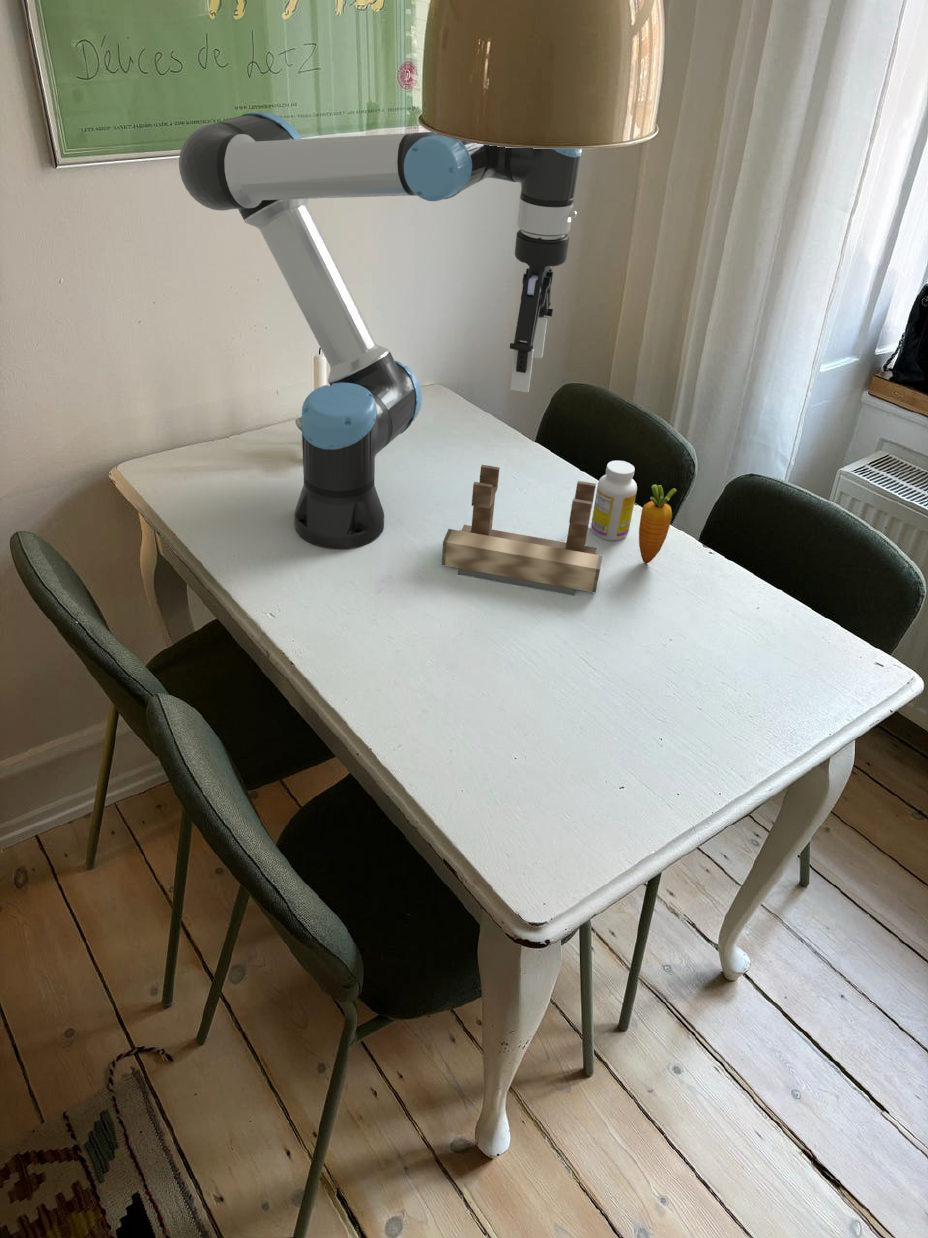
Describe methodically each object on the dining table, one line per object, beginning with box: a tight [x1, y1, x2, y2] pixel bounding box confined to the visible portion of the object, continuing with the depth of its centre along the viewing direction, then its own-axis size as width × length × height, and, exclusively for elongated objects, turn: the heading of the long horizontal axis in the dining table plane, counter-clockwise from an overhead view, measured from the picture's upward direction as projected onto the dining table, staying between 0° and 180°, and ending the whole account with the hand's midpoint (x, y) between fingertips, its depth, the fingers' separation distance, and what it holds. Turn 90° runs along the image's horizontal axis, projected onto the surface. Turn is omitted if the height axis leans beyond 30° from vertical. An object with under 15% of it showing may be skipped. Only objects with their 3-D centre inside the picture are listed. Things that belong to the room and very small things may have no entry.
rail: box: [441, 528, 604, 593], centre depth 156 cm, size 25×4×4 cm, turn 78°
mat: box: [457, 568, 577, 596], centre depth 158 cm, size 19×6×1 cm, turn 78°
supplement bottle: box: [590, 460, 638, 542], centre depth 167 cm, size 7×7×13 cm
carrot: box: [638, 484, 678, 565], centre depth 159 cm, size 5×5×15 cm
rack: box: [460, 464, 598, 555], centre depth 160 cm, size 23×7×12 cm, turn 78°
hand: (526, 372), depth 151 cm, fingers open, 13 cm apart
